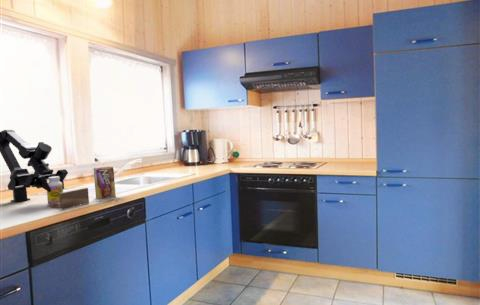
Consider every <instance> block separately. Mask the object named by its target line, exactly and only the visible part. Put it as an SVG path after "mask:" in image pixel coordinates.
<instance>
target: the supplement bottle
mask: <svg viewBox="0 0 480 305" xmlns="http://www.w3.org/2000/svg"><path fill="white" fill-rule="evenodd" d="M59 180H60V177H59V176H54V177H49V179H48V182H47V183H48V185H49V187H50V189H51V192H48V191H47V190H46V196H47V198H46V199H47V204H48V205H49V203H51V202H53V203H60V195H59V193H63V192H64V189H63V185H62V182H60V181H59Z"/></svg>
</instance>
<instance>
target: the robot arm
mask: <svg viewBox="0 0 480 305" xmlns="http://www.w3.org/2000/svg"><path fill="white" fill-rule="evenodd" d="M10 144H12V146H14V147H15V148H16V149H17V150H18V155H20V157H21V159H24V160H26V159H29V160H28V161H27V164H26V165H27V167H32V169H33V170H34V172H33V173H30V172H29V170H28V169H27V168H22V167H21V165H20V164H19V162H18V159H17V158H16V156H15V154H14V152H13V150H12V148H11V146H10ZM52 150H53V148H52V146H51V145H49V144H47V143H45V142H43V141H41V142H40V141H39V142H38V143H37V146H36V145H34V144H32V143H28V142H27V141H25V140H24V139H23V138H22V137H21V136H19V135H18V134H17V133H16V131H15V130H13V129H3V130H1V131H0V155H1V156H2V159H3V160H4V162H5V164H6V167H7V168H8V170H9V171H10V176H9V182H8V184H7V190H10V191H12V196H13V197H12V198H13V199H11V200H9V201H10V202H15V203H18V202H20V203H21V202H25V201H30V200H31V198H30V197H29V198H28V191H27V188H31V187H32V188H36V189H44V190H45V191H46V192H47V191H48V192H51V189H50V187H49V185H48V183H49V182H48V180H49V177H54V176H59V177H60V180H59V181H60V182H62V185H63V190H65V184H64V180H65V179H66V177H67V176H68V174H69V171H67V169H58V170H57V171H56V173H54V170H53V169H50V167H49V166H50V164H49V163H46V162H45V160H47V159H48V157H49V155H50V154H51V152H52Z"/></svg>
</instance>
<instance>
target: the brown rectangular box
mask: <svg viewBox="0 0 480 305" xmlns="http://www.w3.org/2000/svg"><path fill="white" fill-rule="evenodd" d="M59 195H60V203H53V202H51V203H49V204H48V208H50V209H59V208H61V209H60V210H65V208H66V209H69V207H70V208H72V207H73V206H74V207H78V206H80V204H82V205H85V204H84V203H86V204H90V197H89V188H88V187H84V188H79V189H73V190H68V191H63V193H59ZM77 205H78V206H77Z"/></svg>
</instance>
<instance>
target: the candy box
mask: <svg viewBox="0 0 480 305" xmlns="http://www.w3.org/2000/svg"><path fill="white" fill-rule="evenodd" d="M114 170H115V169H114V166H103V167H102V166H101V167H93V177H94V179H93V180H94V191H95V198H96V199H97V198H98V200H99V199H107V198H113V197H116V184H115V182H116V180H115V171H114ZM106 197H107V198H106Z"/></svg>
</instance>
